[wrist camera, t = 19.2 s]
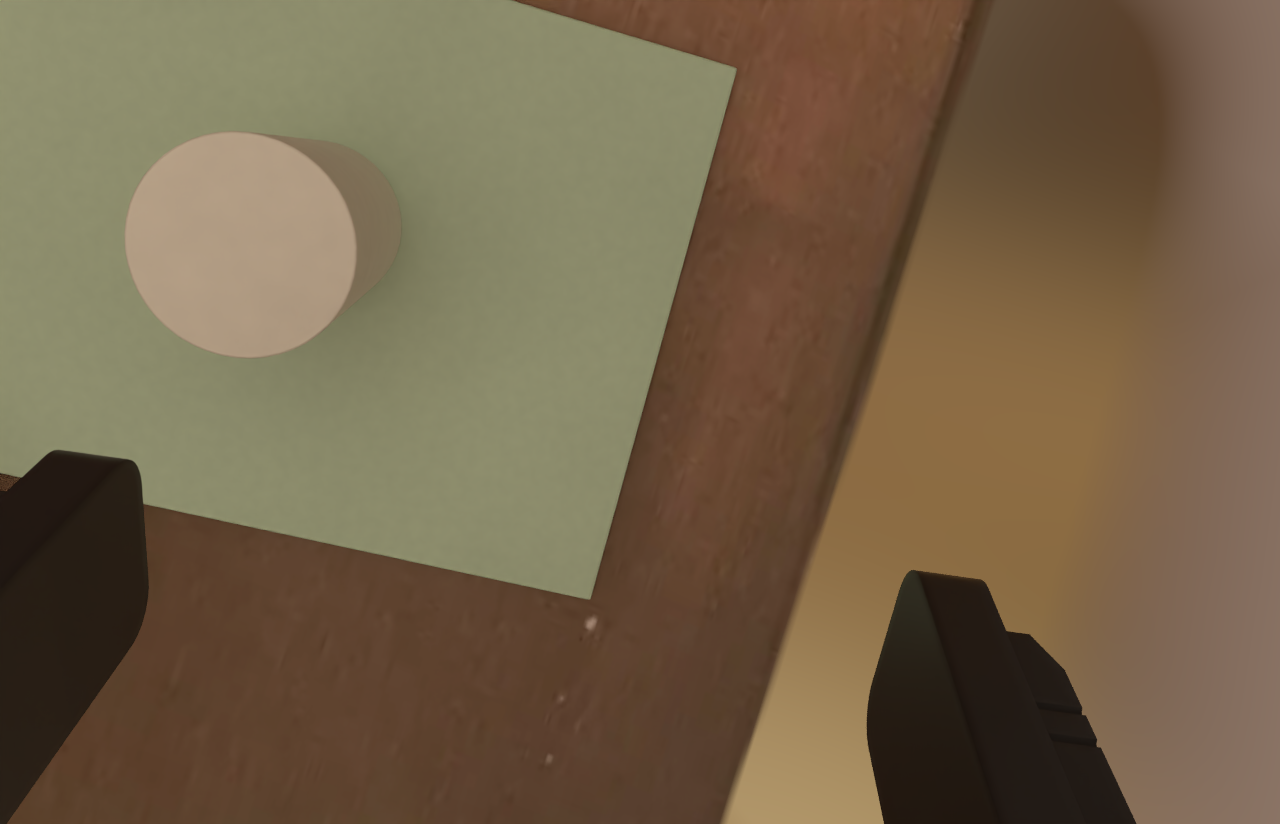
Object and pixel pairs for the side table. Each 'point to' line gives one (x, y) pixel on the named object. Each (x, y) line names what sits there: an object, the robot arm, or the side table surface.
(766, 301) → the side table surface
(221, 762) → the side table surface
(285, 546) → the side table surface
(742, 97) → the side table surface
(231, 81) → the mat
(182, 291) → the cylinder
